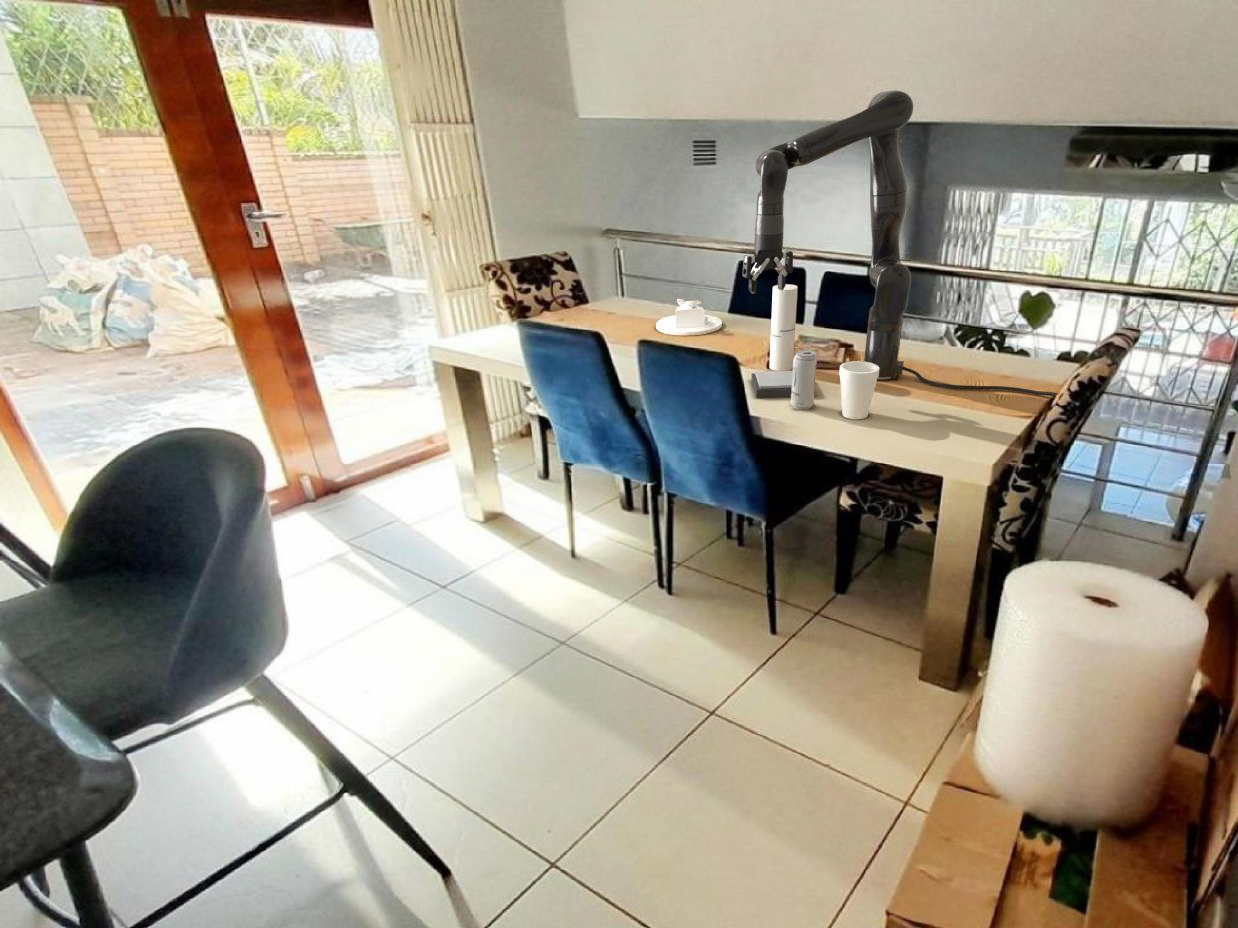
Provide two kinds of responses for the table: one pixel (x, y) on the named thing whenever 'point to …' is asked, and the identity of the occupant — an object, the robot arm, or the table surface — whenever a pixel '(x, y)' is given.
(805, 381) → the energy drink can
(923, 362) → the table surface
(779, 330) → the cylindrical container
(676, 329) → the dish
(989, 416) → the table surface
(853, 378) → the foam cup
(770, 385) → the scale
